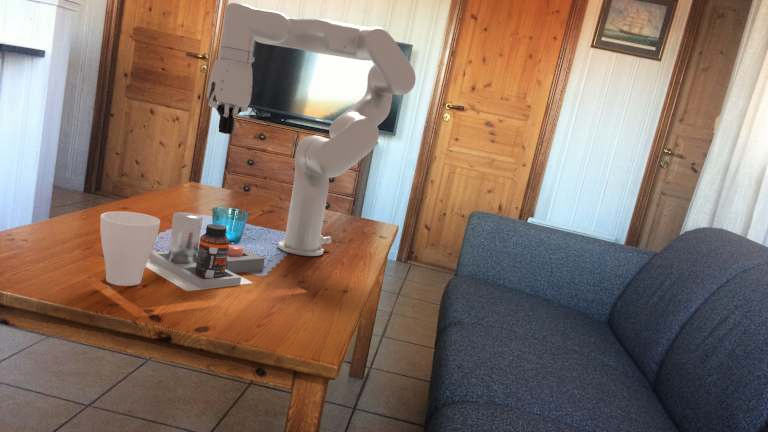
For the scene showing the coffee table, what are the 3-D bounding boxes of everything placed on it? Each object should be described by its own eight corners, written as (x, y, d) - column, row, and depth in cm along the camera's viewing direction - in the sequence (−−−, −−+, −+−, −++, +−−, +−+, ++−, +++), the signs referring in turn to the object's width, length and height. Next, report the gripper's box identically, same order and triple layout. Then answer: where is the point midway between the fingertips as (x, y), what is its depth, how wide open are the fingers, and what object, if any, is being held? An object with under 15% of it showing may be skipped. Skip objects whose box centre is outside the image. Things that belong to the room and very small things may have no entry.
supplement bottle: (215, 285, 125) (223, 231, 123) (188, 278, 126) (196, 225, 124) (228, 278, 131) (236, 227, 129) (202, 272, 132) (210, 221, 130)
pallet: (200, 260, 144) (201, 249, 143) (252, 288, 131) (254, 276, 131) (134, 265, 132) (136, 253, 131) (185, 296, 119) (187, 283, 119)
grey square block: (236, 261, 148) (238, 245, 147) (262, 274, 142) (264, 258, 141) (199, 265, 140) (202, 248, 140) (225, 278, 134) (228, 261, 134)
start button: (234, 257, 143) (236, 244, 143) (245, 262, 141) (246, 249, 140) (220, 258, 140) (221, 245, 140) (230, 263, 138) (232, 250, 137)
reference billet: (186, 259, 139) (192, 212, 137) (201, 267, 135) (208, 218, 133) (161, 261, 134) (168, 212, 132) (176, 269, 130) (183, 219, 128)
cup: (115, 299, 112) (123, 227, 109) (81, 281, 117) (88, 212, 114) (163, 290, 120) (172, 223, 118) (129, 274, 126) (137, 210, 123)
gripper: (251, 61, 157) (240, 133, 160) (199, 50, 145) (189, 127, 149) (269, 64, 152) (258, 138, 155) (218, 53, 141) (207, 133, 144)
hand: (224, 132), depth 152 cm, fingers closed
